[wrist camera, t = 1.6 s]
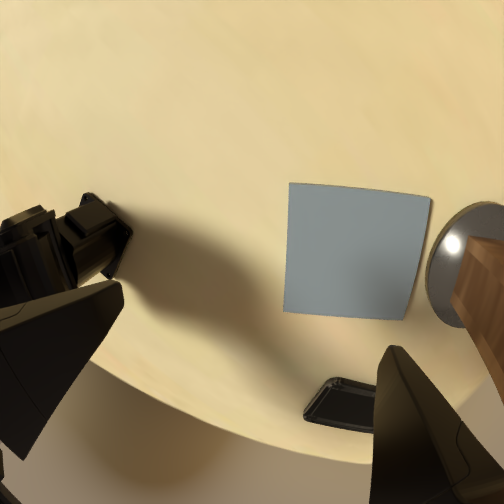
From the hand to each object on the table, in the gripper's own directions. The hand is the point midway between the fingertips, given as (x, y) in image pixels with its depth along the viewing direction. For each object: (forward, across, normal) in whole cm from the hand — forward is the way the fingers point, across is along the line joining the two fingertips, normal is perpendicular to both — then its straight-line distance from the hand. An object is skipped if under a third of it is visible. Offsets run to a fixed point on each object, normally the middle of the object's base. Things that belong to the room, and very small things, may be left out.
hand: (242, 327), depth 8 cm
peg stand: (+13, -16, +1) cm, 21 cm away
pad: (+13, -5, +2) cm, 14 cm away
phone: (+14, -13, +20) cm, 27 cm away
